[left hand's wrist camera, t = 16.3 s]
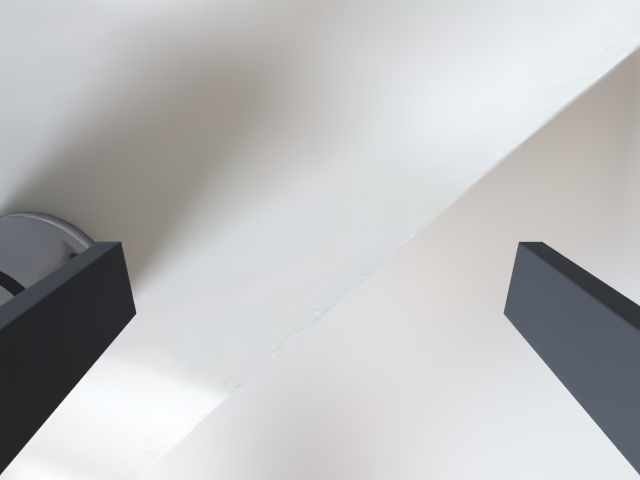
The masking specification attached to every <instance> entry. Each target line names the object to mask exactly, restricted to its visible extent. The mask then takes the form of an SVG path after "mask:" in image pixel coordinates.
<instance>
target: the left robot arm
mask: <svg viewBox="0 0 640 480" xmlns="http://www.w3.org/2000/svg"><path fill="white" fill-rule="evenodd" d="M504 314H505V316H506V317H507V318H508V319H509V320H510V322H511V323H512V324H513V325H514V326H515V328H516V329H517V330H518V331H519V332H520V333H521V335H522V336H523V337H524V338H525V339H526V341H527V342H528V343H529V344H530V345H531V347H532V348H533V349H534V350H535V351H536V352H537V354H538V355H539V356H540V357H541V358H542V360H543V361H544V362H545V363H546V364H547V366H548V367H549V368H550V369H551V370H552V371H553V373H554V374H555V375H556V376H557V377H558V379H559V380H560V381H561V382H562V383H563V384H564V386H565V387H566V388H567V389H568V390H569V392H570V393H571V394H572V395H573V396H574V398H575V399H576V400H577V401H578V402H579V403H580V405H581V406H582V407H583V408H584V409H585V411H586V412H587V413H588V414H589V415H590V416H591V418H592V419H593V420H594V421H595V422H596V424H597V425H598V426H599V427H600V428H601V430H602V431H603V432H604V433H605V434H606V436H607V437H608V438H609V439H610V440H611V441H612V443H613V444H614V445H615V446H616V447H617V449H618V450H619V451H620V452H621V453H622V454H623V456H624V457H625V458H626V459H627V460H628V462H629V463H630V464H631V465H632V466H633V468H634V469H635V470H636V471H637V472H638V473H639V475H640V306H639V305H637V304H636V303H634V302H633V301H631V300H630V299H628V298H627V297H625V296H624V295H622V294H621V293H619V292H618V291H616V290H615V289H613V288H612V287H610V286H609V285H607V284H606V283H604V282H602V281H601V280H599V279H598V278H596V277H595V276H593V275H592V274H590V273H589V272H587V271H586V270H584V269H583V268H581V267H580V266H578V265H577V264H575V263H574V262H572V261H571V260H569V259H567V258H566V257H564V256H563V255H561V254H560V253H558V252H557V251H555V250H554V249H552V248H551V247H549V246H548V245H546V244H545V243H543V242H519V244H518V249H517V254H516V258H515V263H514V268H513V272H512V277H511V282H510V286H509V291H508V296H507V300H506V305H505V310H504ZM135 315H136V309H135V305H134V300H133V295H132V291H131V286H130V282H129V277H128V272H127V268H126V263H125V258H124V254H123V249H122V244H121V242H97V243H95V244H94V243H93V242H92V241H91V240H90V239H89V238H88V237H87V236H86V235H85V234H83V233H82V232H81V231H80V230H78V229H77V228H75V227H73V226H72V225H70V224H68V223H66V222H64V221H62V220H60V219H57V218H54V217H51V216H48V215H44V214H39V213H15V214H10V215H7V216H4V217H1V218H0V475H1V473H2V472H3V471H4V470H5V469H6V468H7V466H8V465H9V464H10V463H11V462H12V460H13V459H14V458H15V457H16V456H17V454H18V453H19V452H20V451H21V450H22V449H23V447H24V446H25V445H26V444H27V443H28V441H29V440H30V439H31V438H32V437H33V436H34V434H35V433H36V432H37V431H38V430H39V428H40V427H41V426H42V425H43V424H44V422H45V421H46V420H47V419H48V418H49V417H50V415H51V414H52V413H53V412H54V411H55V409H56V408H57V407H58V406H59V405H60V403H61V402H62V401H63V400H64V399H65V398H66V396H67V395H68V394H69V393H70V392H71V390H72V389H73V388H74V387H75V386H76V385H77V383H78V382H79V381H80V380H81V379H82V377H83V376H84V375H85V374H86V373H87V371H88V370H89V369H90V368H91V367H92V366H93V364H94V363H95V362H96V361H97V360H98V358H99V357H100V356H101V355H102V354H103V353H104V351H105V350H106V349H107V348H108V347H109V345H110V344H111V343H112V342H113V341H114V339H115V338H116V337H117V336H118V335H119V334H120V332H121V331H122V330H123V329H124V328H125V326H126V325H127V324H128V323H129V322H130V320H131V319H132V318H133V317H134V316H135Z"/></svg>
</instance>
